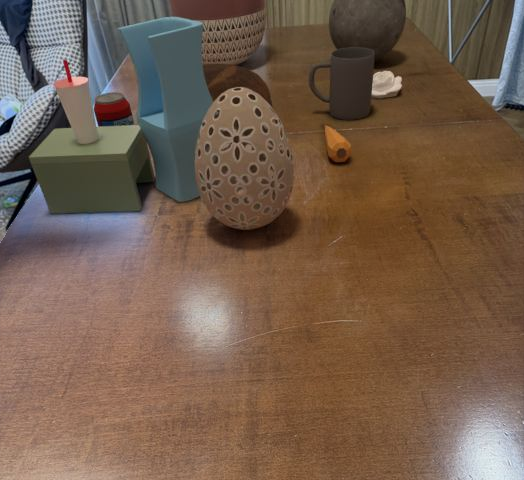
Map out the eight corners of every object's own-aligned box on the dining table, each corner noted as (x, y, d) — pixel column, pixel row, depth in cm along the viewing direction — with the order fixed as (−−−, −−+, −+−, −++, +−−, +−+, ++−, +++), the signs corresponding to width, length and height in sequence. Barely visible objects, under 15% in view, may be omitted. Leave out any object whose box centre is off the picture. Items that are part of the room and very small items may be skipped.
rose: (414, 70, 118) (388, 80, 113) (411, 90, 121) (385, 101, 116) (380, 63, 123) (354, 73, 119) (378, 82, 126) (353, 93, 122)
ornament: (197, 249, 76) (173, 111, 62) (210, 202, 87) (191, 75, 73) (294, 247, 75) (291, 106, 61) (295, 199, 85) (293, 70, 71)
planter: (238, 82, 134) (227, -47, 115) (159, 73, 144) (137, -46, 126) (285, 55, 150) (282, -62, 131) (211, 48, 160) (199, -60, 142)
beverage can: (118, 170, 98) (100, 106, 90) (102, 160, 102) (84, 97, 94) (148, 159, 101) (134, 96, 93) (132, 150, 105) (117, 88, 97)
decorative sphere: (353, 48, 150) (358, -35, 137) (414, 57, 140) (425, -33, 126) (313, 66, 140) (314, -23, 126) (375, 76, 130) (383, -18, 116)
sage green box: (50, 213, 87) (28, 157, 80) (72, 182, 96) (54, 128, 89) (140, 211, 86) (126, 153, 79) (155, 179, 94) (143, 124, 88)
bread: (130, 128, 114) (120, 86, 108) (179, 89, 133) (173, 51, 126) (249, 135, 107) (246, 91, 101) (283, 92, 125) (282, 53, 119)
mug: (369, 105, 115) (373, 45, 107) (371, 120, 109) (376, 58, 101) (309, 107, 117) (309, 48, 109) (308, 121, 111) (308, 60, 102)
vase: (152, 186, 92) (116, 28, 75) (196, 168, 97) (171, 15, 79) (181, 204, 87) (150, 37, 69) (226, 184, 91) (208, 23, 74)
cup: (91, 131, 87) (68, 52, 78) (110, 137, 84) (89, 57, 76) (65, 142, 84) (38, 61, 75) (84, 149, 81) (59, 66, 73)
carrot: (347, 168, 94) (357, 145, 92) (325, 161, 93) (335, 137, 91) (330, 138, 110) (338, 117, 107) (311, 131, 109) (319, 110, 106)
